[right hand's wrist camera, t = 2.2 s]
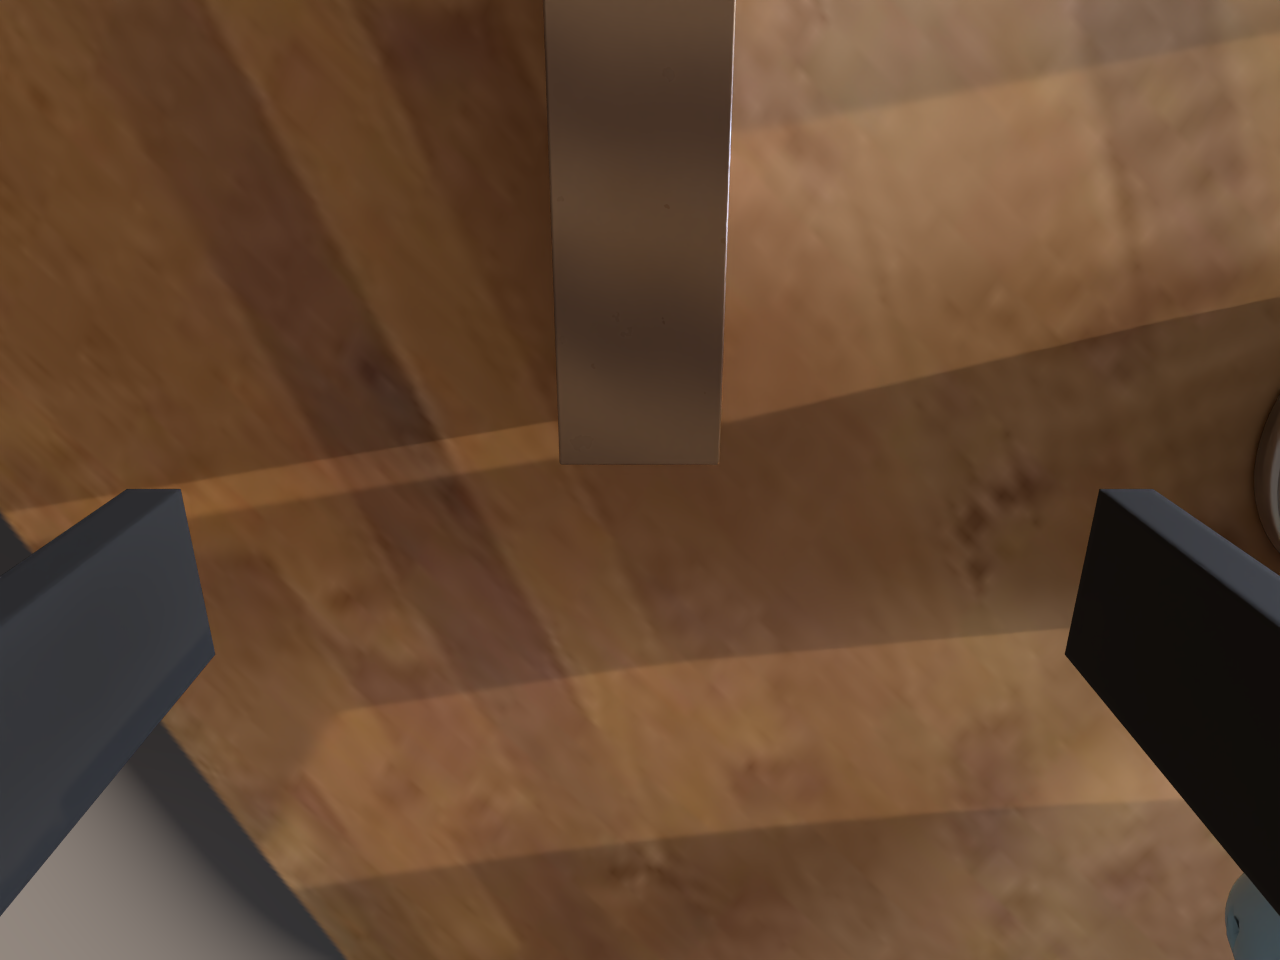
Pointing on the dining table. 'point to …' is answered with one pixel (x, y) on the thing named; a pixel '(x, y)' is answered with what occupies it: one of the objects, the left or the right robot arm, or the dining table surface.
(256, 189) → the dining table surface
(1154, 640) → the right robot arm
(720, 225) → the post
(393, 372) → the dining table surface
